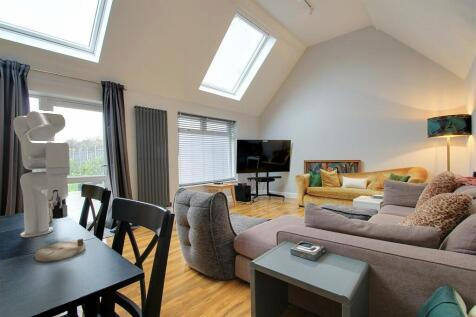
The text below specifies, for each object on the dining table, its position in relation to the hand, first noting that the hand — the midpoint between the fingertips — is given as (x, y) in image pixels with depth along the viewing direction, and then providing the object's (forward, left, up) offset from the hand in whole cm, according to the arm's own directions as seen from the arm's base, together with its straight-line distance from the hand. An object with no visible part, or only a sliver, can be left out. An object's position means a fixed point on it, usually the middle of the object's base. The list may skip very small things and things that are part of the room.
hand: (59, 215), depth 93 cm
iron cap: (0, 0, -1) cm, 1 cm away
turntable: (0, 0, -15) cm, 15 cm away
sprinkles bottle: (-59, +18, -16) cm, 64 cm away
